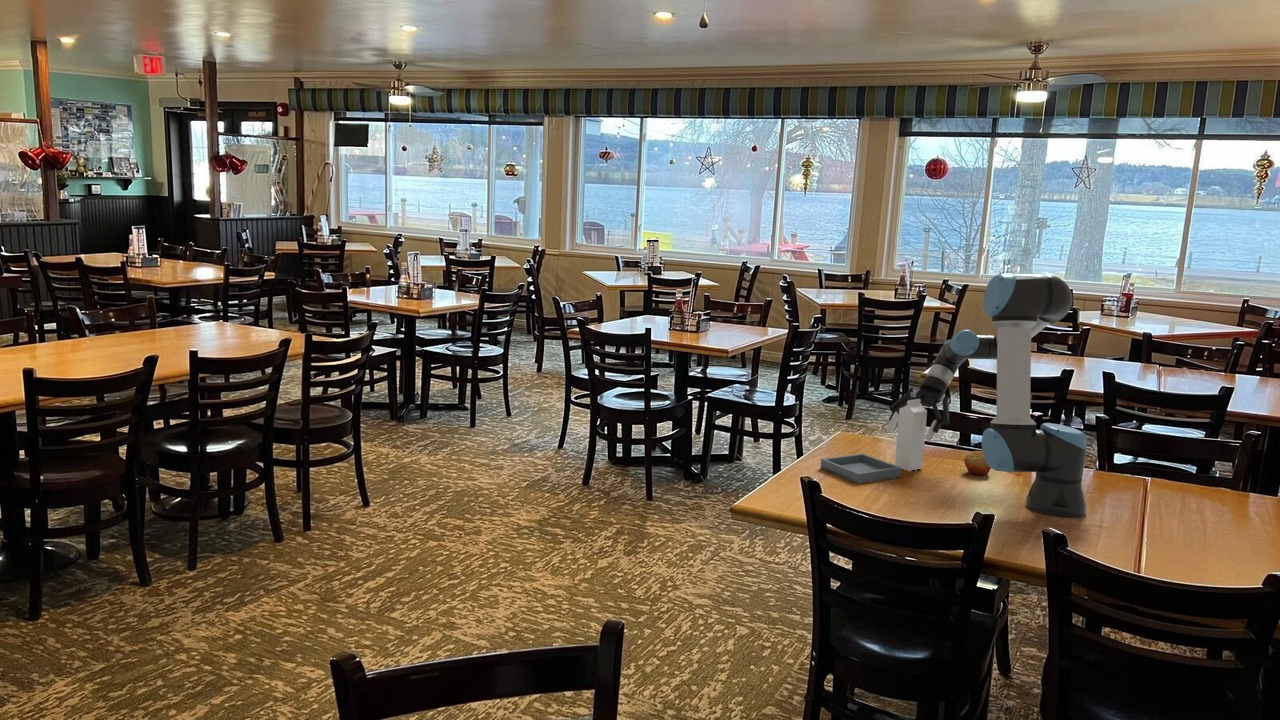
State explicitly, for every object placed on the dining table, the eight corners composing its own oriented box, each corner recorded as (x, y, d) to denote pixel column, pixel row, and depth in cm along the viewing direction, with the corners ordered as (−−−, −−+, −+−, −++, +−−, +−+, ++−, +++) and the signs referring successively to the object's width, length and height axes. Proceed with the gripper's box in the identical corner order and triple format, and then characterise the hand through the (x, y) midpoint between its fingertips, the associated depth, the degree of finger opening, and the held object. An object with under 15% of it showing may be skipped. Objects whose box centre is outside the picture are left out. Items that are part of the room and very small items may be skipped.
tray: (900, 477, 284) (901, 467, 283) (857, 483, 276) (858, 474, 275) (862, 462, 299) (863, 453, 298) (820, 468, 291) (821, 459, 290)
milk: (894, 466, 295) (899, 398, 291) (908, 464, 298) (913, 396, 294) (909, 471, 290) (914, 402, 286) (922, 469, 293) (928, 400, 289)
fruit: (995, 467, 293) (994, 448, 288) (988, 484, 288) (988, 466, 283) (968, 462, 297) (967, 444, 292) (962, 479, 292) (960, 461, 288)
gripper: (976, 396, 292) (948, 450, 284) (905, 382, 310) (877, 433, 302) (969, 381, 287) (940, 436, 280) (898, 368, 305) (869, 420, 298)
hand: (907, 435), depth 291 cm, fingers open, 13 cm apart
